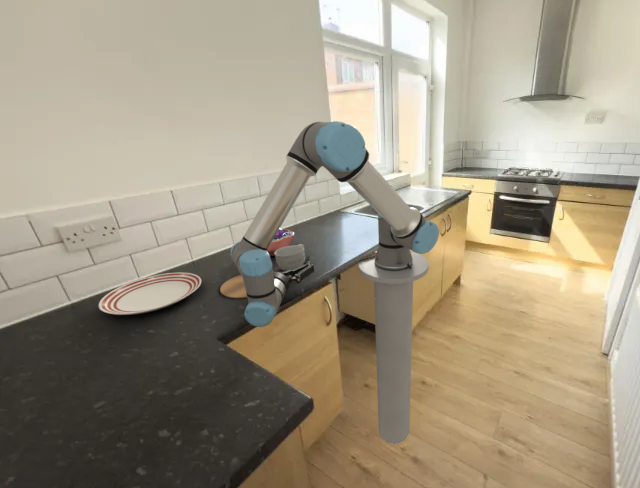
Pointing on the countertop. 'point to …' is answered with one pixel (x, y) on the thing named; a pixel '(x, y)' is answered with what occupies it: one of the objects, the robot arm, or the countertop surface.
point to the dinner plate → (149, 293)
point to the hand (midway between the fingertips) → (289, 259)
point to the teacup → (290, 257)
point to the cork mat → (234, 288)
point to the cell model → (280, 240)
